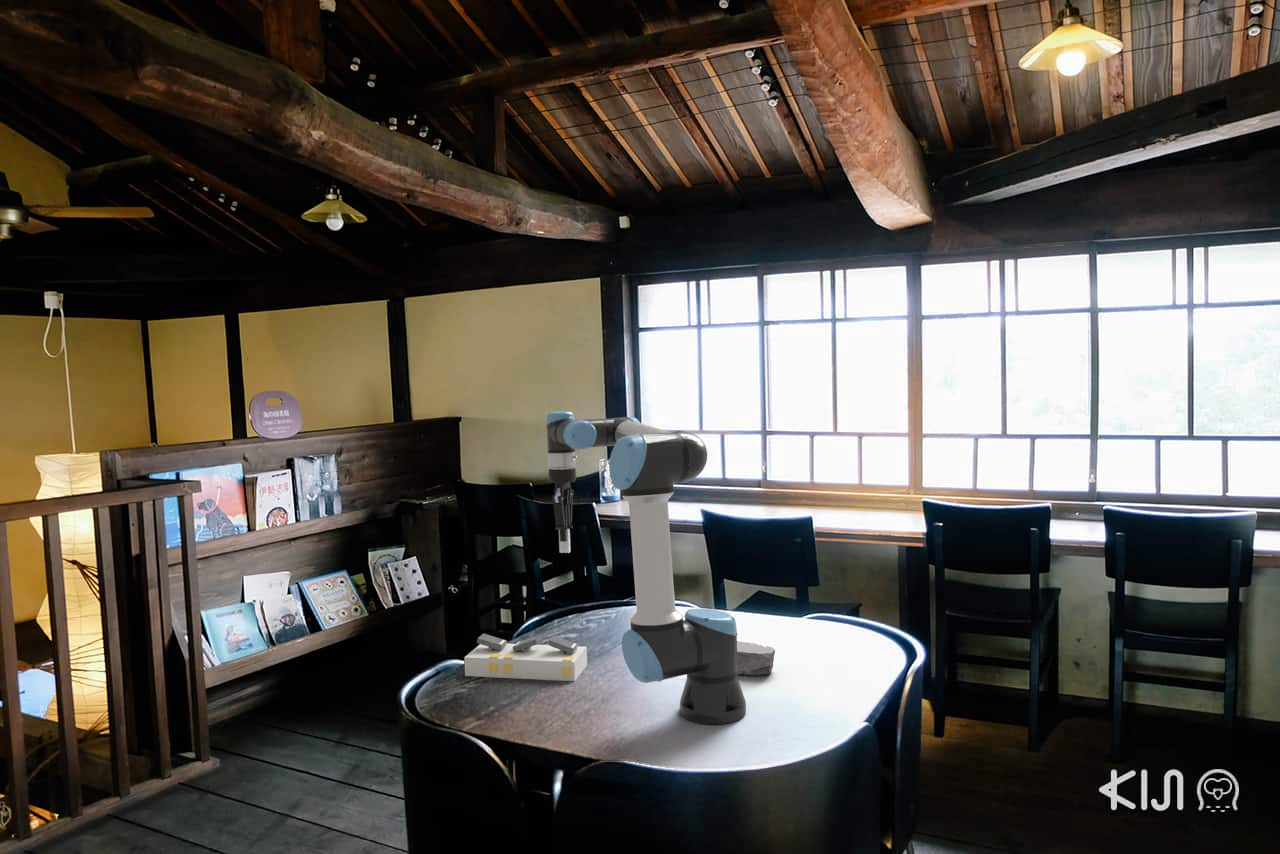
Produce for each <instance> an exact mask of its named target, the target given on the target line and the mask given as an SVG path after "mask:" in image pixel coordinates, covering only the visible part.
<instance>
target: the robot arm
mask: <svg viewBox="0 0 1280 854" xmlns="http://www.w3.org/2000/svg"><path fill="white" fill-rule="evenodd" d="M545 426H546V440H547V467H548V468H549V469H548V482H549V483H552V484H555V486H554V490H553V495H552V496H551V501H552V504H553V513H554V520H555V521H554V522H555V530H558V540H559V541H558V545H559V548H558V549H559V553H561V554H563V553H564V554H570V553H571V532H570V531H571V530H570V529H573V527H574V525H573V504H574V503H573V500H574V499H573V498H574V489H572V487H571V483H574V482H576V481H577V470H576V467H575V466H576V460H577V459H578V455H576V450H586V449H589V448H601V447H613V448H612V450H611V453H610V457H609V467H608V468H609V477H610V479H611V483H612V485H613V487H615V488H616V489H617V490H620V491H621V492H620V493H621V498H622V499H623V500H625V502H626V503H628V507H629V508H628V510H629V520H630V523H629V525H630V535H631V537H630V538H631V547H632V551H631V552H632V565H633V567H632V568H633V578H634V581H633V582H634V591H635V592H634V594H635V606H636V608H635V609H636V610H635V613H634V614H633V615H632V616H631V618H630V619H629V620H630V629H627V631H624V633H623V634H622V638H621V650H622V655H623V658H624V662H625V664H626V666H627V668H628V670H629V672H630V674H631V675H632V676H633V677H634V678H635V679H636V680H637V681H639V682H640V683H644V684H648V683H649V684H650V683H655V682H658V683H659V682H662V681H664V680H668V679H672V678H676V677H682V676H685V675H686V679H685V682H684V687H683V690H682V693H681V697H680V700H679V701H680V702H679V713H680V715H681V716H682V717H683V718H684V719H686V720H688V721H689V722H693V723H697V724H702V725H714V726H715V725H725V724H731V723H734V722H737V721H739V720H741V719H742V718H744V717H745V716H746V714H747V713H746V712H747V703H746V702H747V701H746V699H745V696H744V693H743V689H742V687H741V683H740V682H739V681H740V680H739V676H738V675H737V641H738V640H737V638H738V631H737V621H736V618H735V617H734V616H733V615H731V614H730V613H727V612H726V611H723V610H717V609H712V608H711V609H710V608H692V609H688V610H686V611H685V613H684V614H685V615H684V617H683V614H682V613H680V612H679V611H678V610H677V609H676V602H675V600H676V599H675V590H674V589H675V587H674V585H675V584H674V574H673V558H672V544H671V543H672V542H671V532H670V514H669V503H668V502H669V500H670V498H671V497H672V496H674V493H675V492H674V485H677V484H683V483H688V482H690V481H692V480H694V479H695V478H697V477H698V476H700V474H701V473H702V472H703V470H704V469H705V467H706V465H707V461H708V449H707V446H706V444H705V443H704V441H703V440H702V438H700V437H699V436H698V435H697V434H695V433H693V432H688V431H684V430H674V431H668V430H665V429H661V428H657V427H654V426H652V425H651V426H650V425H646V424H643V423H641V422H640V421H639V419H638V418H636V417H633V416H622V417H611V418H593V419H591V418H590V419H589V418H588V419H587V418H586V419H575V415H574V413H573V412H572V411H551V412H549V413H548V414H547V415H546V425H545Z"/></svg>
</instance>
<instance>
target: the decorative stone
mask: <svg viewBox="0 0 1280 854" xmlns="http://www.w3.org/2000/svg"><path fill="white" fill-rule="evenodd" d="M775 653H776V649H775V648H773V647H772V646H768V645H765V646H763V645H761V644H757V643H753V642H752V643H751V642H746V641H739V640H737V675H738V677H748V678H752V677H753V678H754V677H767V676H769V675H771V673H772V671H773V668H774V661H775V660H774V659H775V658H774V656H775ZM766 675H767V676H766Z"/></svg>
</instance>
